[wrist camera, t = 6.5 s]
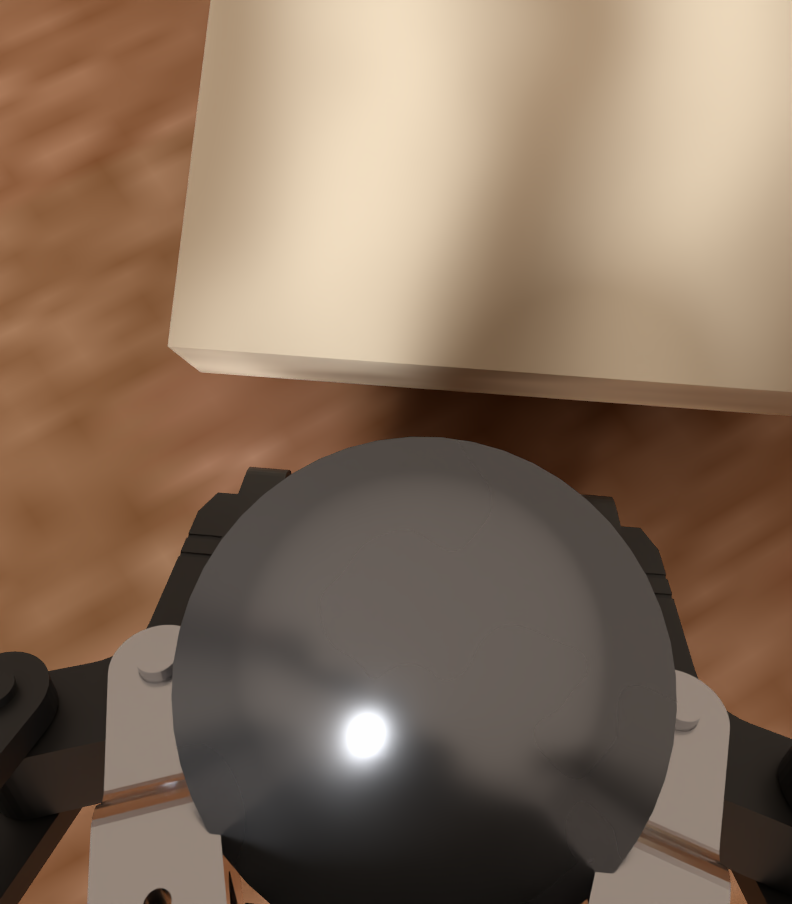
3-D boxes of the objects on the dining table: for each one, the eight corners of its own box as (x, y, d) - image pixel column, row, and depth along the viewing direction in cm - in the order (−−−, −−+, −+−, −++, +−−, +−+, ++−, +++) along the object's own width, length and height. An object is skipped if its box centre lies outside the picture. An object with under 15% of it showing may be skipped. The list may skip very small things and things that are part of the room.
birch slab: (236, 400, 18) (167, 346, 13) (305, -223, 20) (269, -473, 15) (758, 439, 17) (895, 399, 12) (770, -202, 20) (891, -454, 15)
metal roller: (302, 699, 17) (140, 931, 7) (322, 489, 17) (203, 417, 7) (514, 719, 17) (666, 987, 7) (527, 506, 17) (685, 456, 7)
